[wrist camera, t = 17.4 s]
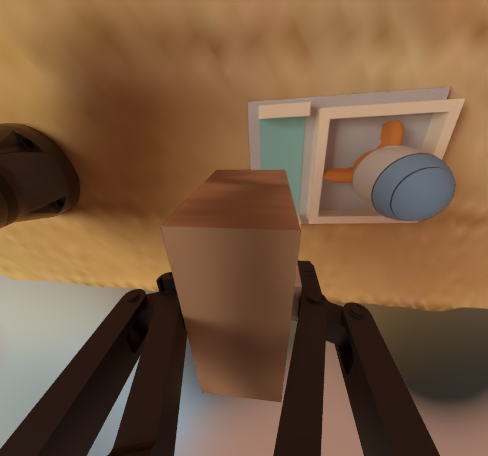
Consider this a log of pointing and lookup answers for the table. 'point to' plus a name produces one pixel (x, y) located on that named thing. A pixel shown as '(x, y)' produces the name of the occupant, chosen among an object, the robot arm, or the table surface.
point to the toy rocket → (398, 178)
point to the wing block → (237, 279)
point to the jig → (342, 143)
